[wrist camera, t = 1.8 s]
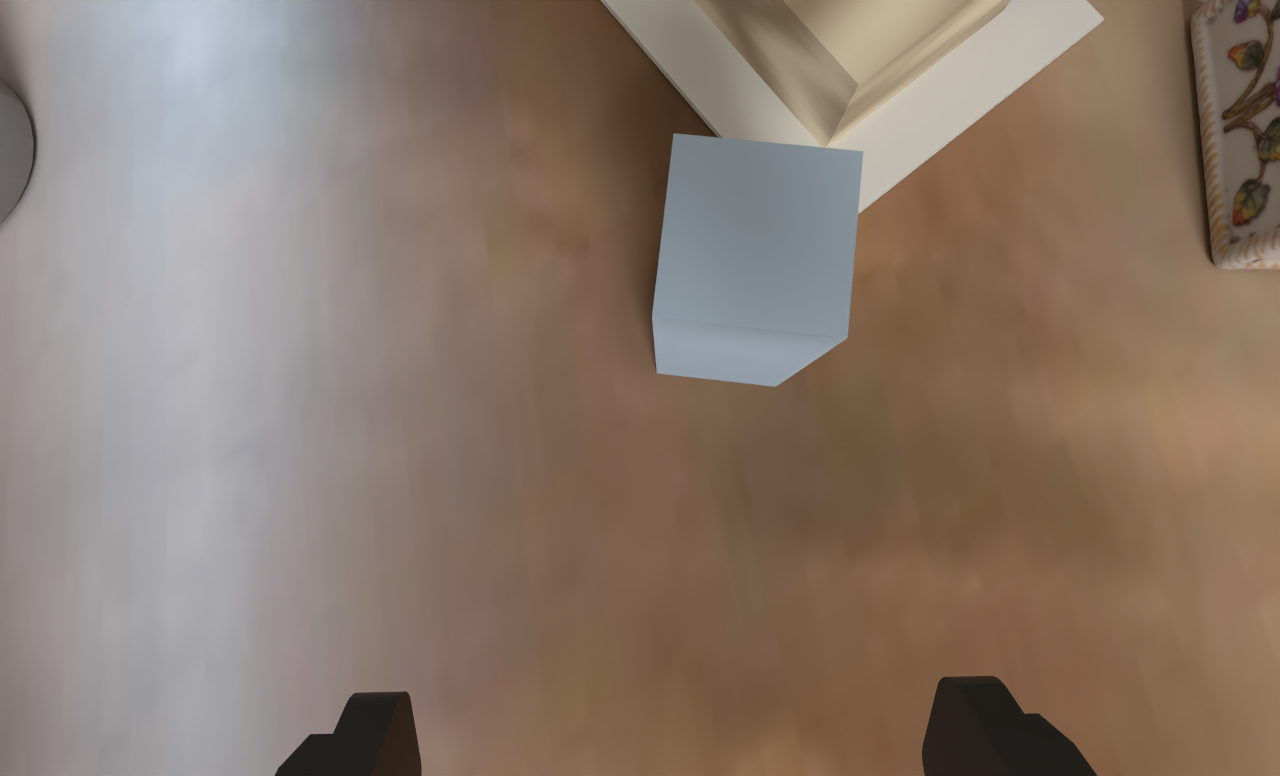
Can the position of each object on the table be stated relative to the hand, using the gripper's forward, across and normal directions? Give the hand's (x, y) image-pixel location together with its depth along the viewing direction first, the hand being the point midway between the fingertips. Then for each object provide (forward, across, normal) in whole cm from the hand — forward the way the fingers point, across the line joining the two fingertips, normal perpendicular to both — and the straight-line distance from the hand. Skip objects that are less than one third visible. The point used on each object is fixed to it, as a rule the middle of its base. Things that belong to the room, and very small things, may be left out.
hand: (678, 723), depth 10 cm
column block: (+20, +4, 0) cm, 20 cm away
